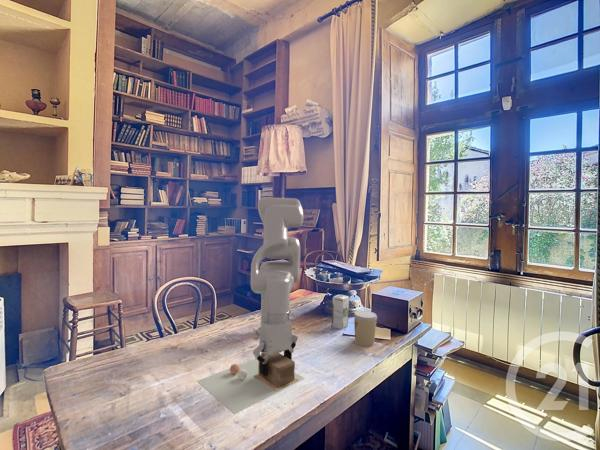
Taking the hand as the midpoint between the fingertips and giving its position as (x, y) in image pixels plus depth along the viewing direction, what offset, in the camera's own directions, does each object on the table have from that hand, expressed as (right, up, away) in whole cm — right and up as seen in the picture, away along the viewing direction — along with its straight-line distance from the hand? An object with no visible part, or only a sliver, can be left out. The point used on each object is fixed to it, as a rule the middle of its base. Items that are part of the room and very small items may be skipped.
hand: (276, 369), depth 100 cm
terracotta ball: (-14, -3, +2) cm, 14 cm away
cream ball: (-10, -3, -1) cm, 11 cm away
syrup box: (+26, -3, +49) cm, 55 cm away
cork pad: (0, -3, 0) cm, 3 cm away
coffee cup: (+34, -4, +32) cm, 47 cm away
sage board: (-7, -4, -1) cm, 9 cm away
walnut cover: (0, -3, 0) cm, 3 cm away
